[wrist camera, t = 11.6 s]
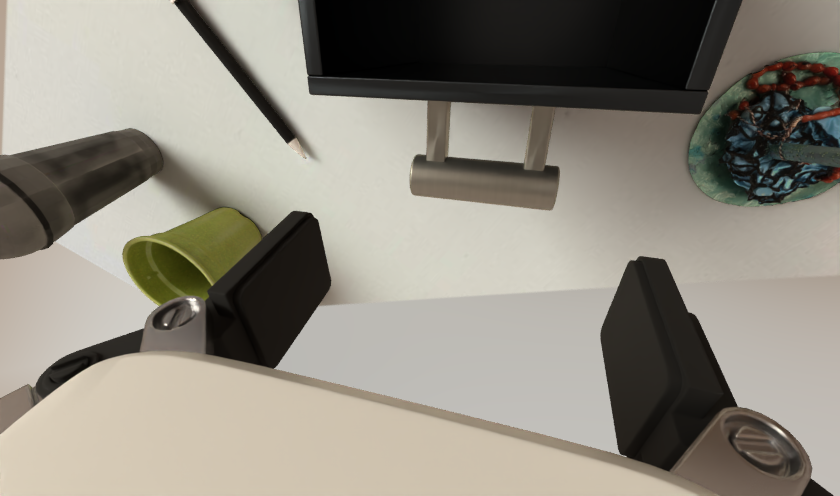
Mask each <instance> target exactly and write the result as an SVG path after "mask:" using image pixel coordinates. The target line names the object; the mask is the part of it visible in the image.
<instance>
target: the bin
mask: <svg viewBox="0 0 840 496" xmlns="http://www.w3.org/2000/svg"><path fill="white" fill-rule="evenodd" d="M298 3H299V11H300V19H301V27H302V35H303V44H304V52H305V60H306V68H307V74H308V75H309V76H308V77H307V78H308V86H309V93H310V94H311V95H327V96H347V97H366V98H386V99H406V100H425V101H428V108H427V152H426V155H421V154H418V155H416V156H415V157H414V159H413V161H412V165H411V170H410V189H411V193H412V194H413V195H416V196H425V197H434V198H443V199H452V200H461V201H470V202H479V203H488V204H497V205H506V206H515V207H523V208H532V209H541V210H552V209H553V207H554V204H555V201H556V197H557V192H558V186H559V177H560V169H559V167H558V166H550V165H545V163H546V158H547V152H548V147H549V141H550V136H551V131H552V125H553V120H554V114H555V109H556V107H563V108H582V109H602V110H621V111H641V112H661V113H680V114H700V113H701V111H702V108H703V105H704V103H705V100H706V97H707V95H708V91H707V90H709V89H710V86H711V84H712V81H713V78H714V76H715V73H716V70H717V67H718V65H719V62H720V59H721V57H722V54H723V51H724V49H725V46H726V43H727V41H728V38H729V35H730V32H731V30H732V27H733V24H734V22H735V19H736V16H737V14H738V11H739V8H740V6H741V3H742V0H298ZM451 102H465V103H484V104H504V105H523V106H533V108H532V114H531V120H530V127H529V133H528V140H527V146H526V153H525V159H524V163H514V162H503V161H491V160H479V159H468V158H456V157H448V149H449V130H450V110H451Z"/></svg>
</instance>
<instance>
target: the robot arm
mask: <svg viewBox="0 0 840 496" xmlns="http://www.w3.org/2000/svg"><path fill="white" fill-rule="evenodd" d="M330 286H331V277H330V273H329V268H328V264H327V259H326V254H325V250H324V245H323V241H322V236H321V231H320V227H319V222H318V220H317V219H316V218H314V216H313V215H312V214H311V213H308V212H301V211H293V212H291V213H290V214H289V215H288V216H287V217H286V218H285V219H283V220H282V221H281V222H280V223H279V224H278V225H277V226H276V227H275V228H274V229H273V230H272V231H271V232H269V233H268V234H267V235H266V236H265V237H264V238H263V239H262V240H261V241H260V242H259V243H258V244H257V245H256V246H254V247H253V248H252V249H251V250H250V251H249V252H248V253H247V254H246V255H245V256H244V257H243V258H242V259H240V260H239V261H238V262H237V263H236V264H235V265H234V266H233V267H232V268H231V269H230V270H229V271H228V272H227V273H225V274H224V275H223V276H222V277H221V278H220V279H219V280H218V281H217V282H216V283H215V284H214V285H213V286H211V287H210V288H209V289H208V290H207V293H208V295H209V297H208V298H207V299H206V300H205V301H204V300H203V299H202V298H201V297H197V296H183V297H178V298H175V299H172V300H169V301H167V302H166V303H164V304H162V305H160V306H159V307H158V308H157V309H155V310H154V311H153V312H152V313H151V314H150V315H149V317H148V318H147V320H146V323H145V328H144V329H141V330H138V331H135V332H132V333H129V334H126V335H123V336H120V337H117V338H114V339H111V340H108V341H105V342H103V343H100V344H96V345H93V346H91V347H88V348H85V349H82V350H79V351H76V352H74V353H71V354H69V355H67V356H65V357H63V358H61V359H59V360H58V361H56V362H55V363H54V364H53V365H51V366H50V367H49V368H48V369H47V370H46V371H45V372H44V373H43V374H42V375H41V376H40V378H39V379H38V381H37V383H36V386H35V387H33V388H32V387H31V386H30V385H29V384H27V385H25V386H23V387H21V388H19V389H17V390H15V391H13V392H12V393H9V394H7V395H6V396H4V397H2V398H0V496H833V495H832V494H831V493H829V492H828V491H827V490H825V489H824V488H823V487H821V486H820V485H819V484H818V483H816V482H815V481H814V480H812V479H811V473H812V466H811V462H810V459H809V456H808V455H807V453H806V451H805V450H804V448H803V447H802V445H801V444H800V443H799V441H798V440H796V438H795V437H794V436H793V435H792V434H791V433H790V432H789V431H788V430H786V429H785V428H783V427H782V426H781V425H779V424H778V423H777V422H776V421H774V420H772V419H770V418H769V417H767V416H765V415H763V414H761V413H759V412H755V411H753V410H750V409H747V408H741V407H738V406H737V404H736V402H735V399H734V397H733V395H732V393H731V391H730V388H729V386H728V384H727V382H726V380H725V378H724V375H723V373H722V371H721V369H720V366H719V364H718V362H717V360H716V358H715V356H714V353H713V351H712V349H711V347H710V345H709V342H708V340H707V338H706V336H705V334H704V331H703V329H702V327H701V325H700V323H699V321H698V319H697V317H696V316H695V315H694V314H692V313H689V312H688V311H687V309H686V306H685V304H684V302H683V299H682V297H681V295H680V292H679V290H678V288H677V286H676V283H675V281H674V279H673V276H672V274H671V272H670V270H669V267H668V265H667V263H666V261H665V260H664V259H658V258H651V257H643V256H640V257H638V258H637V260H636V261H632V260H631V261H629V263H628V264H627V267H626V269H625V272H624V274H623V277H622V279H621V282H620V284H619V286H618V289H617V292H616V294H615V296H614V299H613V301H612V304H611V306H610V308H609V311H608V314H607V316H606V318H605V321H604V323H603V326H602V329H601V344H602V351H603V358H604V363H605V370H606V376H607V382H608V388H609V395H610V401H611V407H612V414H613V419H614V426H615V432H616V438H617V445H618V450H619V452H620V454H621V455H625V456H627V457H623V456H620V455H617V454H614V453H611V452H607V451H603V450H599V449H595V448H592V447H588V446H584V445H580V444H576V443H573V442H569V441H565V440H561V439H558V438H554V437H550V436H546V435H543V434H539V433H535V432H531V431H527V430H523V429H518V428H514V427H510V426H507V425H503V424H499V423H495V422H490V421H486V420H482V419H478V418H474V417H470V416H466V415H462V414H458V413H454V412H450V411H446V410H442V409H438V408H434V407H430V406H426V405H422V404H418V403H413V402H409V401H405V400H401V399H397V398H393V397H389V396H385V395H380V394H376V393H372V392H368V391H364V390H360V389H356V388H352V387H348V386H344V385H340V384H335V383H331V382H327V381H322V380H318V379H314V378H310V377H306V376H301V375H297V374H293V373H289V372H285V371H280V370H276V369H274V368H275V367H276V366H277V365H278V364H279V362H280V360H281V359H282V357H283V356H284V355H285V353H286V352H287V351H288V349H289V348H290V346H291V345H292V343H293V342H294V340H295V339H296V337H297V336H298V334H299V333H300V332H301V330H302V329H303V327H304V325H305V324H306V323H307V321H308V320H309V318H310V317H311V315H312V314H313V313H314V311H315V310H316V308H317V307H318V305H319V304H320V302H321V301H322V299H323V298H324V297H325V295H326V294H327V292H328V291H329V289H330Z"/></svg>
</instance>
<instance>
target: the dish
mask: <svg viewBox="0 0 840 496" xmlns="http://www.w3.org/2000/svg"><path fill="white" fill-rule="evenodd" d="M776 62H777V63H778V64H775V65H771V66H768V65H766V66H764V67H766V68H764V69H763V70H762V71H760V72H758V73H756V74H752V73H751V74H749V75H747V76H746V77H744V78H743V79H742V80H740V81H739V82H737V83H736V84H735V85H734V86H732V87H731V88H730V89H729V90H728V91H727V92H726V93H725V94H724V95H722V96H721V97H720V98H719V99H718V100H716V102H715V103H714V104H713V105H712V106H711V107H710V108H709V110H708V111H707V112H706V113H705V115H704V116H703V117H702V118H701V120H700V122H699V124H698V126H697V129H696V131H695V133H694V135H693V137H692V140H691V143H690V148H689V157H688V163H689V169H690V173H691V175H692V177H693V179H694V181H695V183H696V184H697V186H698V187H699V188H700V189H701V190H702V191H703V192H704V193H705V194H706V195H708V196H709V197H711V198H712V199H714V200H717V201H720V202H723V203H728V204H733V205H738V206H749V207H752V206H767V205H769V206H770V205H775V204H783V203H786V202H790V201H792V202H794V201H795V200H796V201H798V200H803V199H807V198H810V197H813V196H816V195H818V194H820V193H822V192H825V191H826V190H828V189H830V188H831V187H833V186H835V185H836V184H837V183H839V182H840V53H832V52H819V53H808V54H801V55H796V56H792V57H789V58H785V59H782V60H779V61H776Z"/></svg>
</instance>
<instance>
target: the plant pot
mask: <svg viewBox="0 0 840 496" xmlns="http://www.w3.org/2000/svg"><path fill="white" fill-rule="evenodd" d="M261 240H262V237H261V234H260V232H259V230H258V228H257V227H256V226H255V224H254V223H253V222H252V221H251V220H250V219H247V218H245V217H243V216H242V215H241V214H240V213H239V212H238V211H237V210H235V209H232V208H226V207H222V208H218V209H215V210H213V211H211V212H209V213H206V214H204V215H202V216H200V217H198V218H196V219H194V220H191V221H189V222H187V223H185V224H182V225H180V226H178V227H176V228H173V229H171V230H169V231H166V232H164V233H157V234H154V235H151V236H140V237H137V238H134V239H132V240H130V241H129V242H127V243H126V245H125V246H124V249H123V253H122V255H123V262H124V265H125V267H126V270H127V272H128V274H129V276H130V277H131V279H132V280H133V282H134V283H135V284H136V285H137V287H138V288H139V289H140V290H141V291H142V292H143V293H144V294H145V295H146V296H147V297H148V298H149V299H150V300H152V301H153V302H154V303H155V304H157V305H158V306H160V305H162V304H164V303H166V302H167V301H169V300H172V299H175V298H178V297H183V296H197V297H201V298H202V299H203V300H204V301H205V300H206V299H207V298H208V297H209V295H208V293H207V290H208V289H209V288H210V287H211V286H213V285H214V284H215V283H216V282H217V281H218V280H219V279H220V278H221V277H222V276H223V275H224V274H225V273H227V272H228V271H229V270H230V269H231V268H232V267H233V266H234V265H235V264H236V263H237V262H238V261H239V260H240V259H242V258H243V257H244V256H245V255H246V254H247V253H248V252H249V251H250V250H251V249H252V248H253V247H254V246H256V245H257V244H258V243H259V242H260V241H261Z"/></svg>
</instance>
